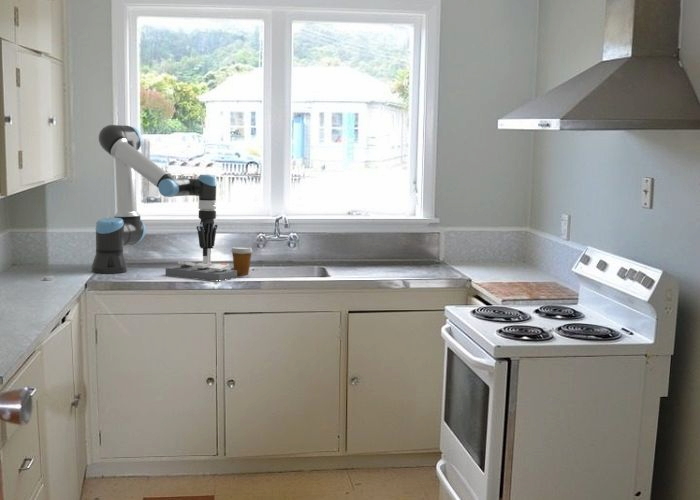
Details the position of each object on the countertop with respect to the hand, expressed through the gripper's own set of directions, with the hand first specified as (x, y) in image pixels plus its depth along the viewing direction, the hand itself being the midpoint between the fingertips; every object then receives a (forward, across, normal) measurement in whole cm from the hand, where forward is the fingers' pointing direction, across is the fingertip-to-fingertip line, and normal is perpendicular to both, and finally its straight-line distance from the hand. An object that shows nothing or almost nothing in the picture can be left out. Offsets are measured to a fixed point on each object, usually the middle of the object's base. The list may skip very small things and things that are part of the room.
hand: (206, 263), depth 374 cm
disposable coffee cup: (+6, +13, -10) cm, 18 cm away
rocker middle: (+1, -2, 0) cm, 2 cm away
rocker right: (+1, -2, -9) cm, 9 cm away
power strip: (+6, -4, 0) cm, 7 cm away
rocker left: (+1, -2, +9) cm, 10 cm away
